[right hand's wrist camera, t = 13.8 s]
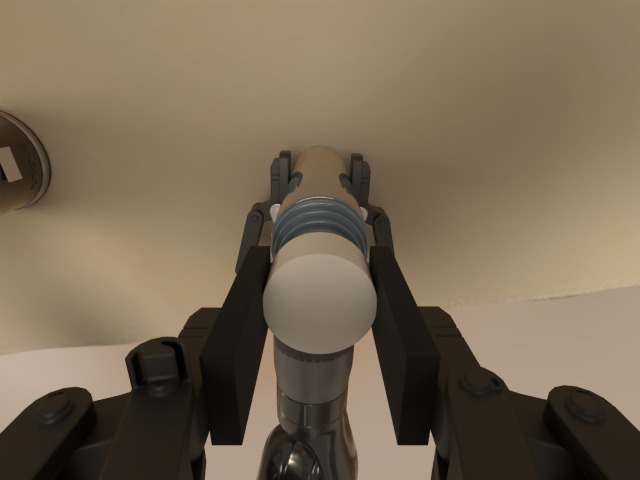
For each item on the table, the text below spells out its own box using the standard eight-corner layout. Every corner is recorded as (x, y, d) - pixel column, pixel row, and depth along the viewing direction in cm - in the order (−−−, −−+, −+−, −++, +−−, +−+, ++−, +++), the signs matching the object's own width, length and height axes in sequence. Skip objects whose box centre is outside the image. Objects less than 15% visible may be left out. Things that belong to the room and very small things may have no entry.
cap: (252, 294, 15) (242, 325, 13) (300, 213, 14) (296, 233, 12) (337, 335, 16) (339, 370, 14) (389, 261, 14) (400, 288, 12)
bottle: (285, 181, 36) (228, 322, 13) (310, 136, 34) (291, 210, 12) (328, 205, 37) (343, 376, 14) (354, 162, 35) (416, 278, 13)
